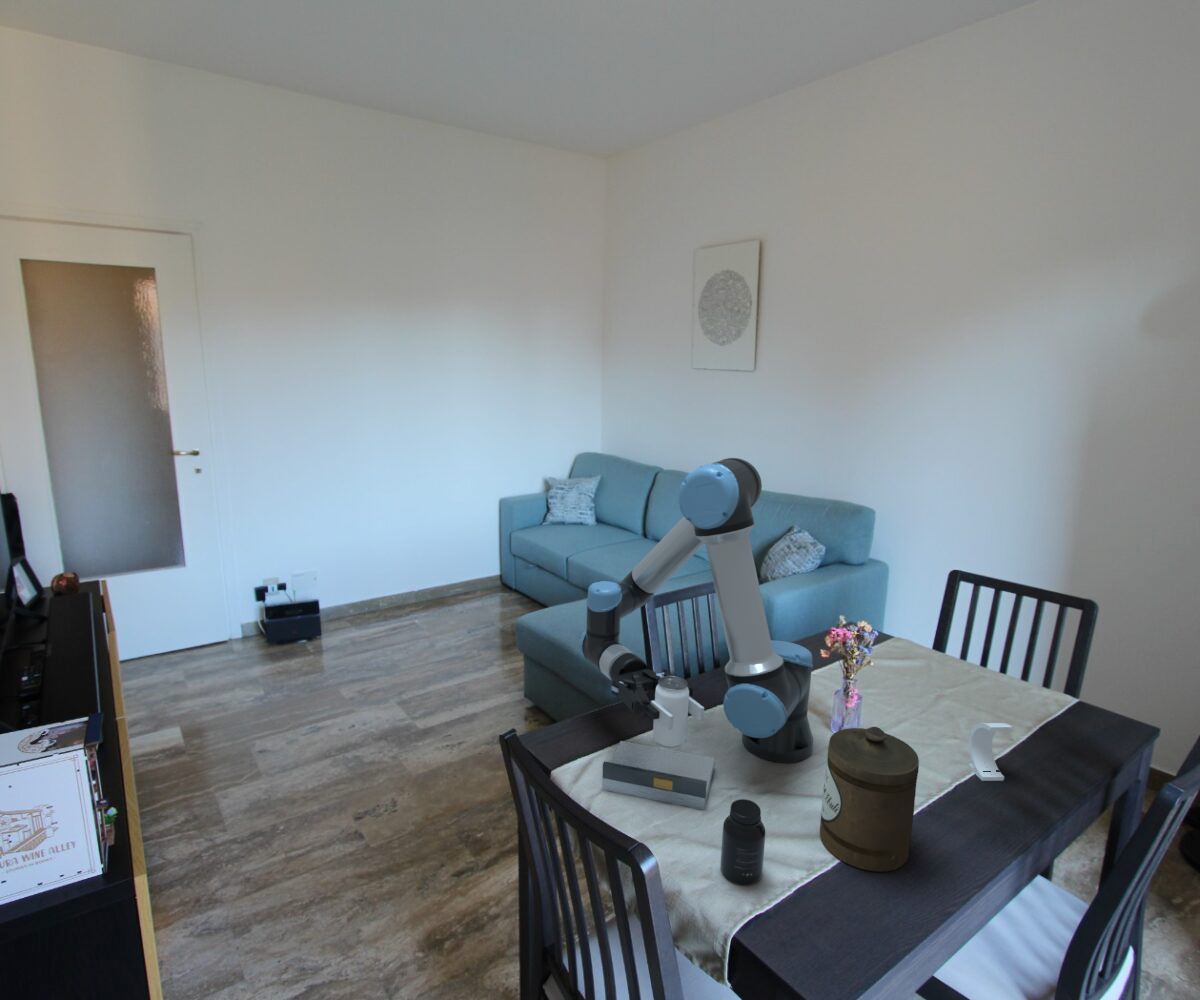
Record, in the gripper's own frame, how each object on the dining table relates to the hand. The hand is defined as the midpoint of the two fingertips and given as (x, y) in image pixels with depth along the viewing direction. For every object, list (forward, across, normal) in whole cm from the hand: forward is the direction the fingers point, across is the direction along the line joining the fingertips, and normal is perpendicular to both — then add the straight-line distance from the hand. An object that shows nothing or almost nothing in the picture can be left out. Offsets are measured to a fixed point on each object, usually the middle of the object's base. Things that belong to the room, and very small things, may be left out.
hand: (686, 718), depth 131 cm
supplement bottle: (+20, +2, -17) cm, 27 cm away
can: (-5, 0, -7) cm, 9 cm away
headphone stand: (+21, -62, -17) cm, 68 cm away
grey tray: (-7, 0, -17) cm, 19 cm away
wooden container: (+25, -22, -17) cm, 37 cm away
